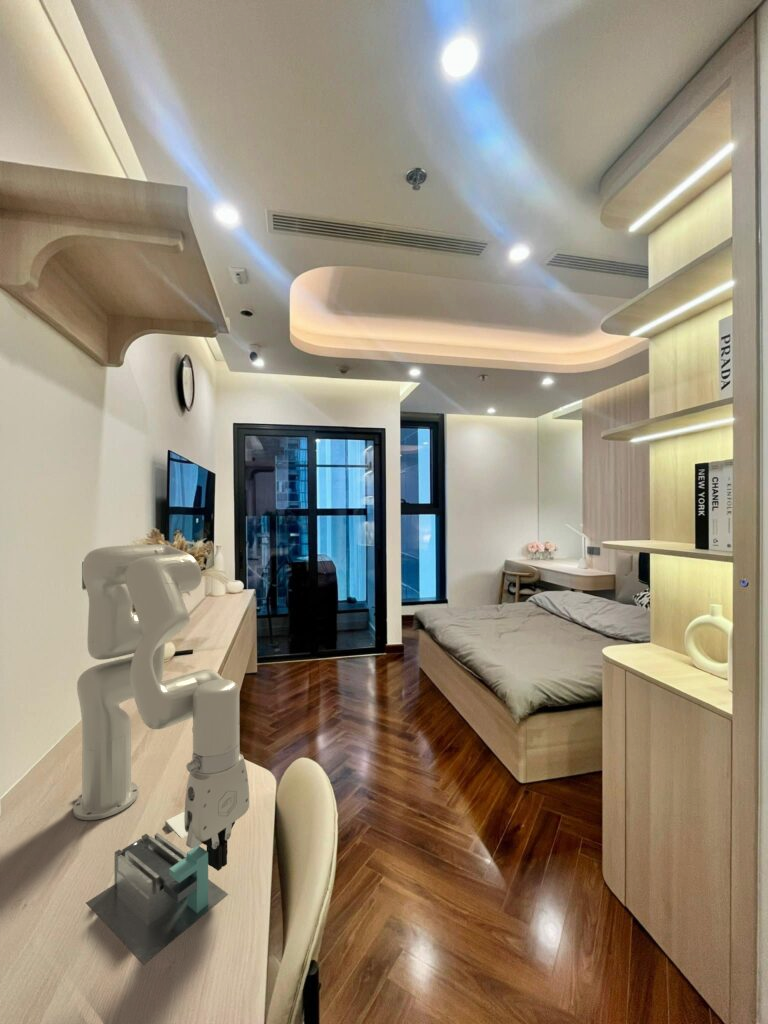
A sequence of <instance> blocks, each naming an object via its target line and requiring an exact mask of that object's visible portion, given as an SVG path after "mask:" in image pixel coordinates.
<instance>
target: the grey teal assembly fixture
mask: <svg viewBox="0 0 768 1024" xmlns="http://www.w3.org/2000/svg"><path fill="white" fill-rule="evenodd" d="M141 839H142V841H143V844H144V845H145V846H147V847H148V848H149V849H151V850H152V851H153V852H155V853H156V854H157V855H159V856H160V857H161V858H163V859H164V860H165V861H167V862H168V863H169V864H171V865H172V866H174V865H175V864H177V863H178V862H180V861H181V860H183V859H184V858H185V857H187V852H185V851H183V849H180V847H178V846H177V845H175V844H173V843H172V842H171V841H170V840H168V839H167V838H166V837H164V836H163V835H161V834H160V833H158V832H156V833H155V834H154V837H153V836H150V835H149V834H148V833H144V834H143V835H141ZM228 895H229V894H228V892H227V891H224V890H223V889H222V888H221V887H219V886H218V885H217V884H216V883H214V882H213V881H211V880H210V879H209V878H208V905H207V906H205V907H204V908H203V909H202V910H201V911H199V912H198V913H196V912H195V911H194V910H193V909H191V908H190V907H189V906H188V905H187V896H186V897H185V898H183V899H182V900H181V901H179V902H177V901H175V900H174V899H173V898H172V897H171V896H169V895H168V894H167V893H166V892H164V886H163V885H161V884H160V883H159V876H158V875H157V874H156V873H155V872H154V871H152V870H151V869H150V868H149V867H147V866H146V865H145V864H144V863H143V862H141V861H140V860H139V859H138V858H137V857H135V856H134V855H133V854H132V853H130V852H129V851H126V852H125V857H124V856H123V852H122V849H118V850H116V851H114V884H113V885H111V886H110V887H108V888H106V889H105V890H104V891H101V892H100V893H99V894H97V895H96V896H94V897H93V898H91V899H89V900H88V901H86V902H85V903H86V905H87V906H88V907H89V908H90V909H91V910H92V911H93V912H94V913H95V914H96V915H97V916H98V917H99V919H101V920H102V922H103V923H104V924H105V925H106V926H107V927H108V928H109V929H110V930H111V931H112V932H113V933H114V935H115V936H116V937H118V939H119V940H120V941H121V943H123V944H124V946H126V948H127V949H128V950H129V951H130V952H131V953H132V954H133V955H134V956H135V957H136V958H137V959H138V960H139V962H140V963H141V964H142V965H146V964H147V963H148V962H149V961H150V960H151V959H153V958H154V957H155V956H156V955H158V954H159V953H160V952H161V951H162V950H163V949H164V948H166V947H167V946H169V944H171V943H172V942H173V941H174V940H176V939H177V938H178V937H179V936H180V935H181V934H183V933H184V932H186V930H187V929H189V928H190V927H191V926H192V925H193V924H195V923H196V922H197V921H198V920H199V919H201V918H202V917H203V916H204V915H206V913H208V912H209V911H210V910H211V909H213V908H214V907H215V906H216V905H218V903H220V902H221V901H223V900H224V899H225V898H226V897H227V896H228Z"/></svg>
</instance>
